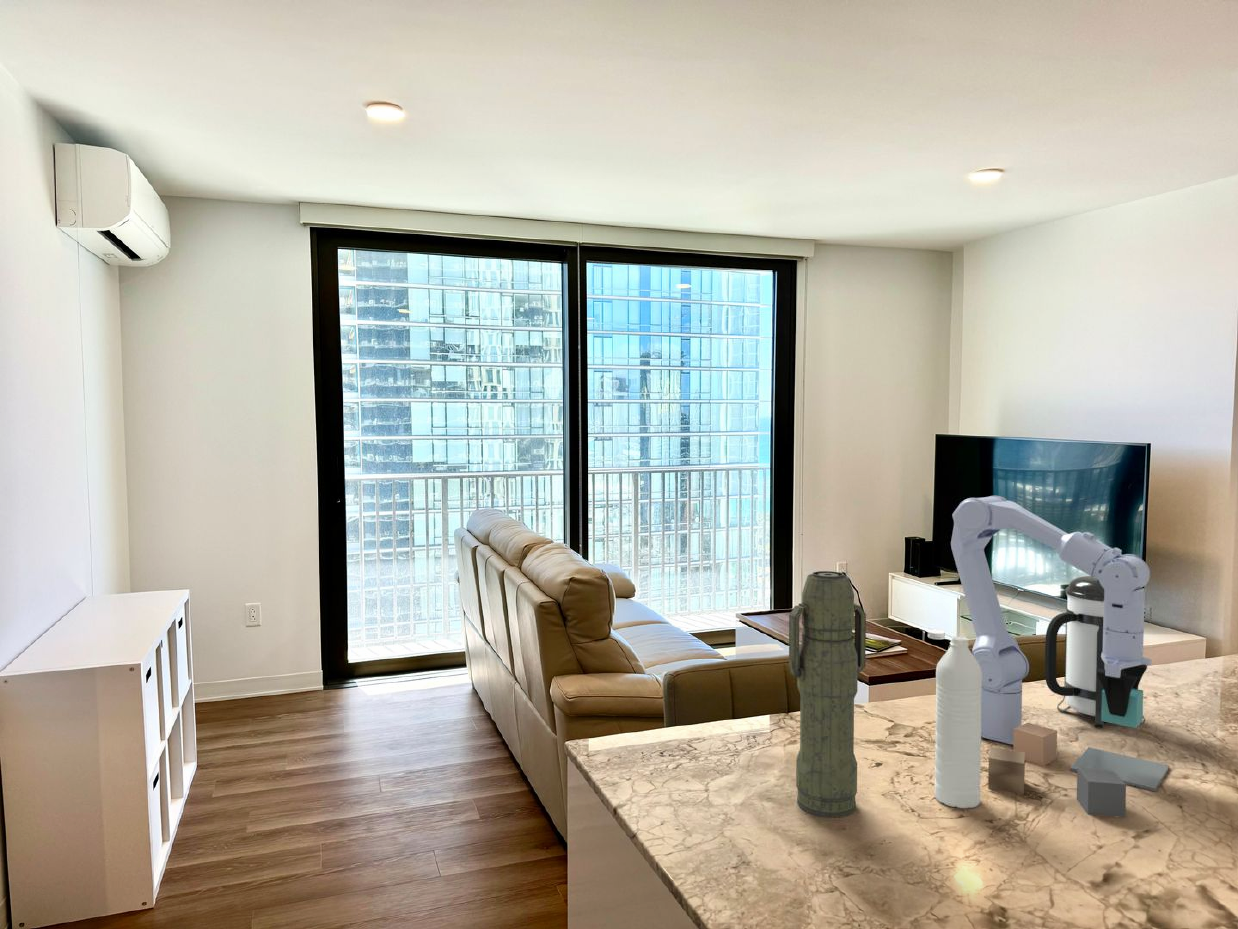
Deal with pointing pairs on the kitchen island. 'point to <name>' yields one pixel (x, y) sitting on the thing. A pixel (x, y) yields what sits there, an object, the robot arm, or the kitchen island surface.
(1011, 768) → the walnut block
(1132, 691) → the teal block
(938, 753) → the water bottle
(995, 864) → the kitchen island surface
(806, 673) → the thermos
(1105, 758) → the slate coaster
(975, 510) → the robot arm
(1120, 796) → the charcoal block
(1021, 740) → the terracotta block
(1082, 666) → the coffee press
